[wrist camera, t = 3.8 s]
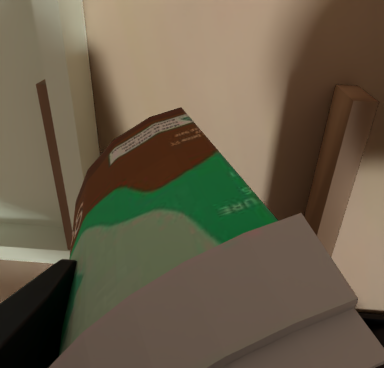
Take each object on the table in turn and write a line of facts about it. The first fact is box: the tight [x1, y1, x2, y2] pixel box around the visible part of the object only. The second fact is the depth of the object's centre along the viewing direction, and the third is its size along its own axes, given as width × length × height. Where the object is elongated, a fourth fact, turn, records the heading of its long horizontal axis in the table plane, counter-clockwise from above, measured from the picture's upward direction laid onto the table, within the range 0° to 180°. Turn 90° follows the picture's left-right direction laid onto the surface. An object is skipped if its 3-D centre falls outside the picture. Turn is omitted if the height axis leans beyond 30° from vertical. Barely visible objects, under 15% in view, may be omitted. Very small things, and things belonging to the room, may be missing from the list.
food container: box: [49, 108, 384, 368], centre depth 11 cm, size 12×6×10 cm, turn 6°
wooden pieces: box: [36, 79, 379, 257], centre depth 17 cm, size 14×13×6 cm
